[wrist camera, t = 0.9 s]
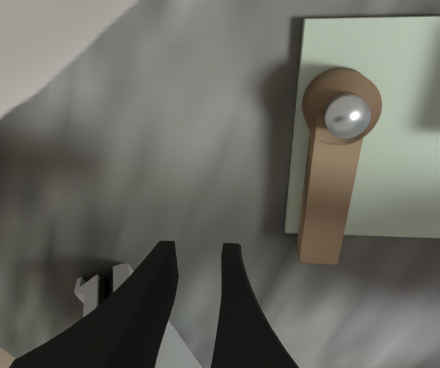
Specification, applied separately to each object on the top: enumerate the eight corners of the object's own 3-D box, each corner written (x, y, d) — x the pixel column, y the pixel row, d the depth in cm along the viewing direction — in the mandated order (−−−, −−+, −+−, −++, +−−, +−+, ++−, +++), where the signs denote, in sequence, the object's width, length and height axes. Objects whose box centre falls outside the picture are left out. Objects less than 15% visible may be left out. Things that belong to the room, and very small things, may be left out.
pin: (369, 91, 16) (375, 97, 15) (361, 132, 17) (366, 138, 16) (325, 91, 16) (329, 97, 15) (320, 131, 17) (323, 138, 16)
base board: (612, 12, 15) (624, 12, 15) (501, 234, 22) (507, 240, 21) (303, 18, 17) (305, 19, 16) (284, 227, 23) (285, 232, 23)
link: (305, 67, 17) (309, 74, 16) (378, 67, 17) (389, 73, 15) (287, 246, 23) (289, 262, 22) (341, 248, 23) (347, 265, 21)
